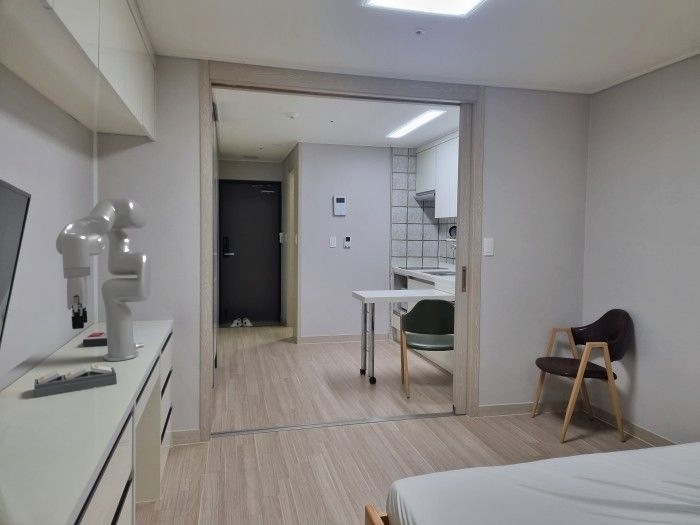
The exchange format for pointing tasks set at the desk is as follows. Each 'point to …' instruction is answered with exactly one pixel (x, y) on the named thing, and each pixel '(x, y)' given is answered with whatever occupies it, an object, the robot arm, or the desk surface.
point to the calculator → (95, 340)
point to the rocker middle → (75, 373)
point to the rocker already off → (101, 369)
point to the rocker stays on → (49, 377)
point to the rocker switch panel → (74, 383)
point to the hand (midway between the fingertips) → (80, 325)
